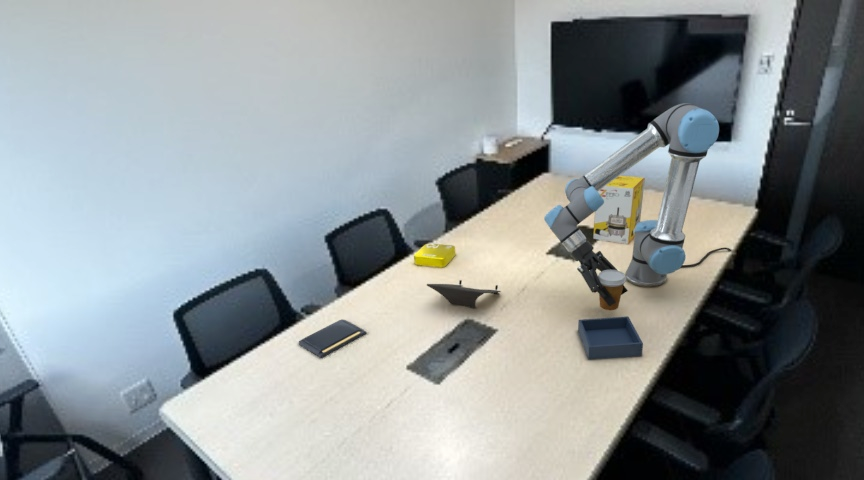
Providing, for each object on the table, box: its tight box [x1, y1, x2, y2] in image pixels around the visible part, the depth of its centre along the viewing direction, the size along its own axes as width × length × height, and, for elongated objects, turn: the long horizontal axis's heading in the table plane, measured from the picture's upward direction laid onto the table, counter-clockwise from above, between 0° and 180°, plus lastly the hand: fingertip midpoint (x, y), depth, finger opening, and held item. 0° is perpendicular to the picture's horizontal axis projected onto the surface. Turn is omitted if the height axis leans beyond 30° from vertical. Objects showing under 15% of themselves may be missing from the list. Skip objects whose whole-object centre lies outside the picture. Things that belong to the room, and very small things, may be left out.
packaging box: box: [592, 175, 646, 245], centre depth 242 cm, size 16×16×25 cm
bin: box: [577, 316, 644, 361], centre depth 174 cm, size 17×17×5 cm
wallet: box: [298, 319, 367, 359], centre depth 190 cm, size 20×2×15 cm
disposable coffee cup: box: [597, 269, 627, 311], centre depth 185 cm, size 10×10×12 cm
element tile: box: [413, 243, 456, 268], centre depth 240 cm, size 15×15×5 cm
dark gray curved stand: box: [426, 279, 502, 309], centre depth 204 cm, size 23×23×9 cm
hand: (618, 298), depth 184 cm, fingers closed on disposable coffee cup, 9 cm apart
